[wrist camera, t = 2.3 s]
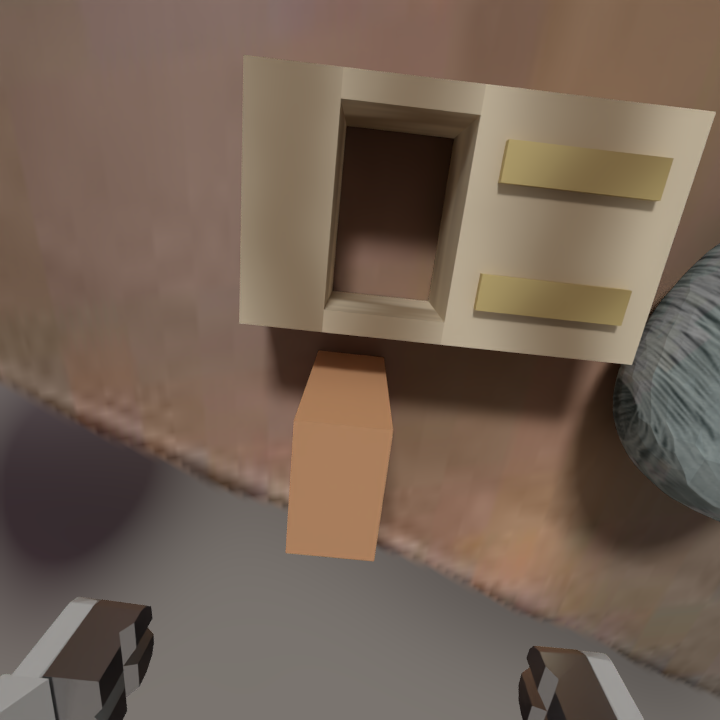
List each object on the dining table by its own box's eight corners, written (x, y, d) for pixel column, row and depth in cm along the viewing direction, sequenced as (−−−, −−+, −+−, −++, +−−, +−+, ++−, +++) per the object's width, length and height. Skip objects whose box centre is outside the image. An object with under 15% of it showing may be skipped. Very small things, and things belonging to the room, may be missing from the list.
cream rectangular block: (265, 301, 19) (236, 325, 14) (272, 93, 16) (240, 51, 12) (578, 335, 19) (637, 367, 15) (634, 136, 16) (724, 109, 12)
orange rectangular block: (310, 446, 21) (285, 553, 14) (318, 350, 19) (293, 420, 13) (371, 452, 21) (374, 561, 14) (383, 357, 19) (393, 430, 13)
